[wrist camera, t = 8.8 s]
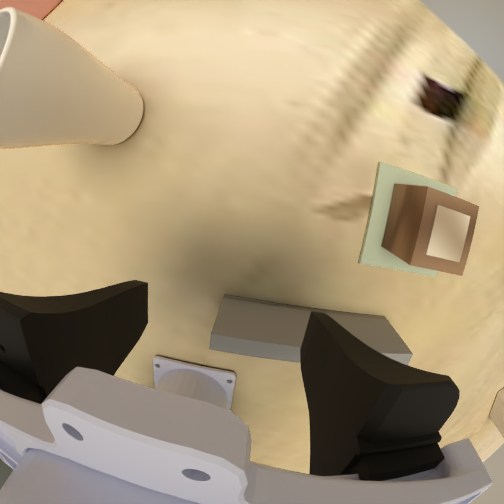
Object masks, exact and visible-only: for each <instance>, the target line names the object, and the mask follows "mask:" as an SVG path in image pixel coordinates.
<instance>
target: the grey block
mask: <svg viewBox="0 0 504 504" xmlns="http://www.w3.org/2000/svg"><path fill="white" fill-rule="evenodd" d="M311 311H314V312H322V313H326V314H327V315H329V316H330V317H331V318H333V319H334V320H335V321H336V322H338V323H339V324H340V325H341V326H342V327H344V328H345V329H346V330H347V331H349V332H350V333H351V334H352V335H354V336H355V337H356V338H358V339H359V340H360V341H362V342H363V343H365V344H366V345H368V346H369V347H371V348H372V349H374V350H376V351H378V352H379V353H381V354H383V355H385V356H387V357H389V358H391V359H393V360H395V361H398V362H400V363H402V364H405V365H408V363H409V361H410V359H411V357H412V355H413V353H412V352H411V351H410V349H409V348H408V347H407V345H406V344H405V343H404V341H403V340H402V339H401V337H400V336H399V335H398V333H397V332H396V331H395V329H394V328H393V327H392V325H391V324H390V323H389V321H388V320H387V319H386V318H385V316H375V315H366V314H356V313H348V312H339V311H331V310H323V309H316V308H308V307H301V306H294V305H287V304H280V303H274V302H267V301H261V300H254V299H248V298H242V297H236V296H230V295H224V298H223V301H222V303H221V306H220V309H219V312H218V315H217V318H216V320H215V323H214V326H213V329H212V332H211V338H210V348H209V349H212V350H217V351H223V352H228V353H234V354H240V355H246V356H253V357H260V358H267V359H274V360H283V361H291V362H300V349H301V345H302V342H303V338H304V335H305V331H306V328H307V324H308V321H309V317H310V313H311Z"/></svg>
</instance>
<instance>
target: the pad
mask: <svg viewBox="0 0 504 504" xmlns="http://www.w3.org/2000/svg"><path fill="white" fill-rule="evenodd" d="M394 184H407V185H418V186H428V187H431V188H434V189H436V190H439V191H442V192H444V193H447V194H450V195H452V196H456V190H457V189H456V188H454V187H451V186H449V185H446V184H444V183H441V182H439V181H436V180H433V179H431V178H428V177H425V176H422V175H419V174H416V173H414V172H411V171H408V170H405V169H401V168H398V167H395V166H392V165H389V164H385V163H382V162H378V169H377V175H376V181H375V187H374V193H373V198H372V204H371V209H370V214H369V219H368V223H367V228H366V233H365V237H364V241H363V246H362V250H361V254H360V258H359V263H360V264H364V265H370V266H375V267H381V268H387V269H393V270H399V271H404V272H410V273H416V274H421V275H427V276H433V277H437V273H438V271H436V270H431V269H426V268H421V267H416V266H411V265H409V264H407V263H406V262H404V261H403V260H401V259H400V258H398V257H397V256H395V255H394V254H392V253H391V252H389V251H388V250H386V249H385V248H383V247H381V244H382V240H383V236H384V231H385V227H386V223H387V218H388V213H389V208H390V203H391V198H392V192H393V187H394Z"/></svg>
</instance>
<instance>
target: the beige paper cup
mask: <svg viewBox="0 0 504 504" xmlns="http://www.w3.org/2000/svg"><path fill="white" fill-rule="evenodd" d="M142 115H143V100H142V97H141V95H140V93H139V92H138V91H137V89H136V88H134V87H133V86H131V85H130V84H128V83H127V82H125V81H124V80H123V79H121V78H120V77H119V76H118V75H116V74H115V73H114V72H113V71H112V70H110V69H109V68H108V67H107V66H106V65H104V64H103V63H102V62H101V61H100V60H98V59H97V58H96V57H95V56H94V55H92V54H91V53H90V52H89V51H87V50H86V49H85V48H84V47H82V46H81V45H80V44H79V43H77V42H76V41H75V40H74V39H72V38H71V37H70V36H68V35H67V34H66V33H64V32H63V31H61V30H60V29H58V28H56V27H55V26H53V25H51V24H50V23H48V22H46V21H44V20H42V19H40V18H38V17H36V16H34V15H31V14H29V13H26V12H24V11H21V10H18V9H16V8H14V7H5V8H3V9H1V10H0V149H13V148H26V147H37V146H50V145H68V144H99V145H116V144H119V143H121V142H123V141H125V140H126V139H127V138H129V137H130V136H131V135H132V134H133V133H134V132H135V130H136V129H137V127H138V126H139V124H140V121H141V119H142Z"/></svg>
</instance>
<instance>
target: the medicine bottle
mask: <svg viewBox="0 0 504 504" xmlns="http://www.w3.org/2000/svg"><path fill="white" fill-rule="evenodd" d="M489 417H490V418H491V420H492V421H493V423H494V424H495V426H496V427H497V428H498V430H499V431H500V433H501V434H502V436H503V437H504V388H503V389H501V390H500V391H499V392H498V393H497V396H496V399H495V402H494V405H493V407H492V410H491V412H490V415H489Z"/></svg>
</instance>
